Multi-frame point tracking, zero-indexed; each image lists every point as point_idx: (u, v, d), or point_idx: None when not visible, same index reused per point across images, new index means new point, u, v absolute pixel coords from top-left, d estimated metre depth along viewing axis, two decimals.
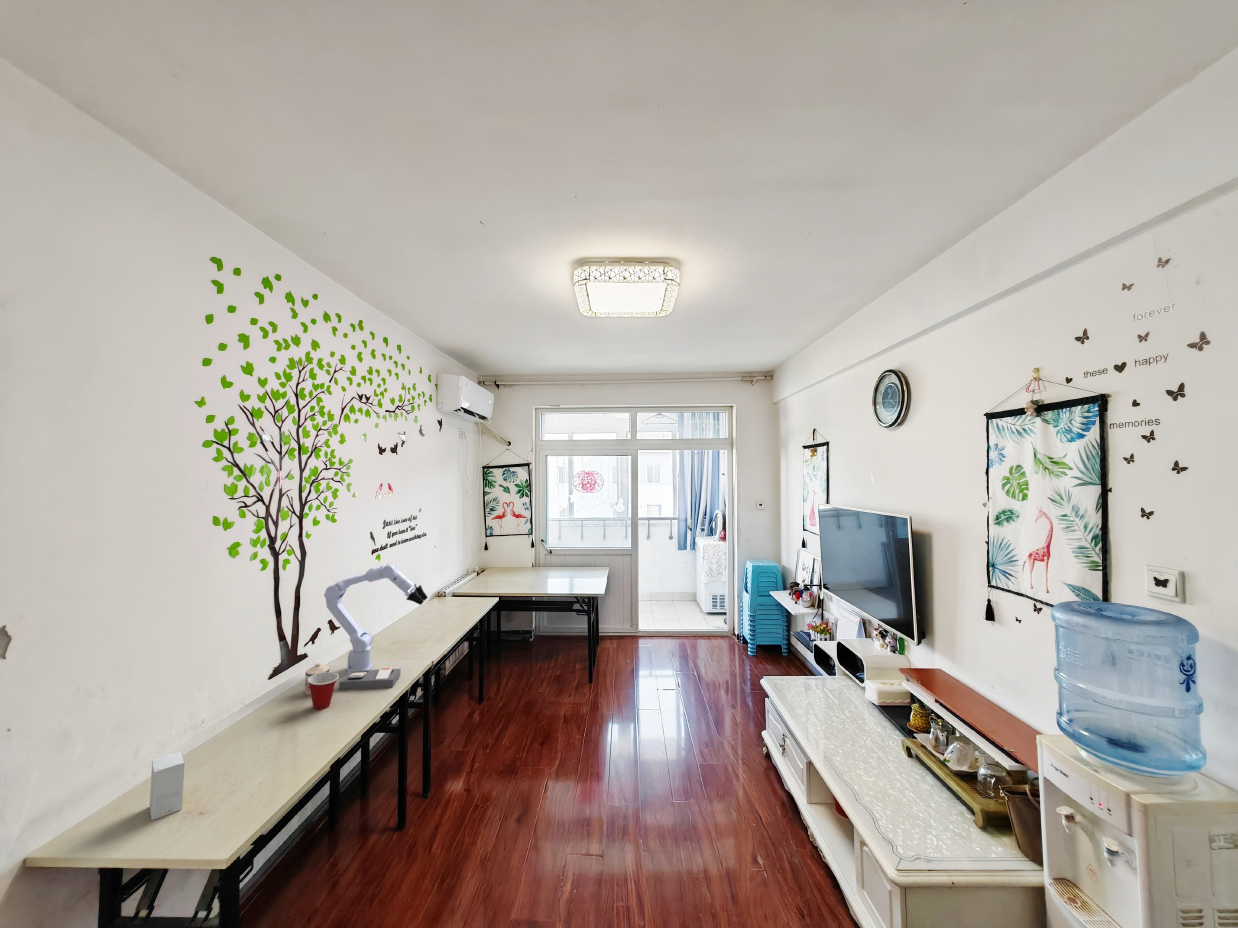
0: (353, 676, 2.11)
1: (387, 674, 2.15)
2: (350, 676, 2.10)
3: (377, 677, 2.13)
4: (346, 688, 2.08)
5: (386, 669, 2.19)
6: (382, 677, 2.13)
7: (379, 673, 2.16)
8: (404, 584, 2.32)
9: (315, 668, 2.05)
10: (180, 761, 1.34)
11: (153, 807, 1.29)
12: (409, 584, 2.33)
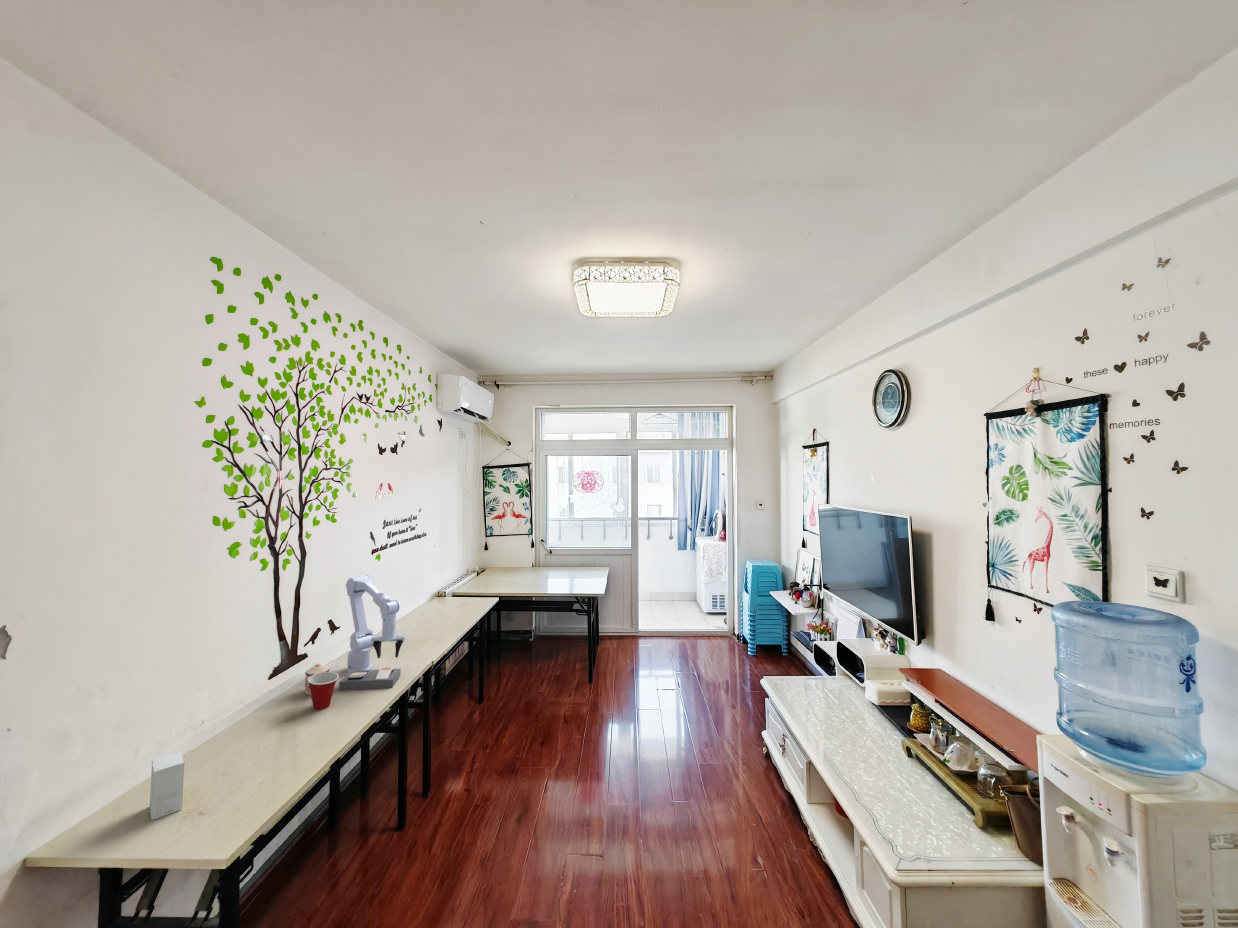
0: (353, 676, 2.11)
1: (387, 674, 2.15)
2: (350, 676, 2.10)
3: (377, 677, 2.13)
4: (346, 688, 2.08)
5: (386, 669, 2.19)
6: (382, 677, 2.13)
7: (379, 673, 2.16)
8: (382, 630, 2.21)
9: (315, 668, 2.05)
10: (180, 761, 1.34)
11: (153, 807, 1.29)
12: (382, 634, 2.19)
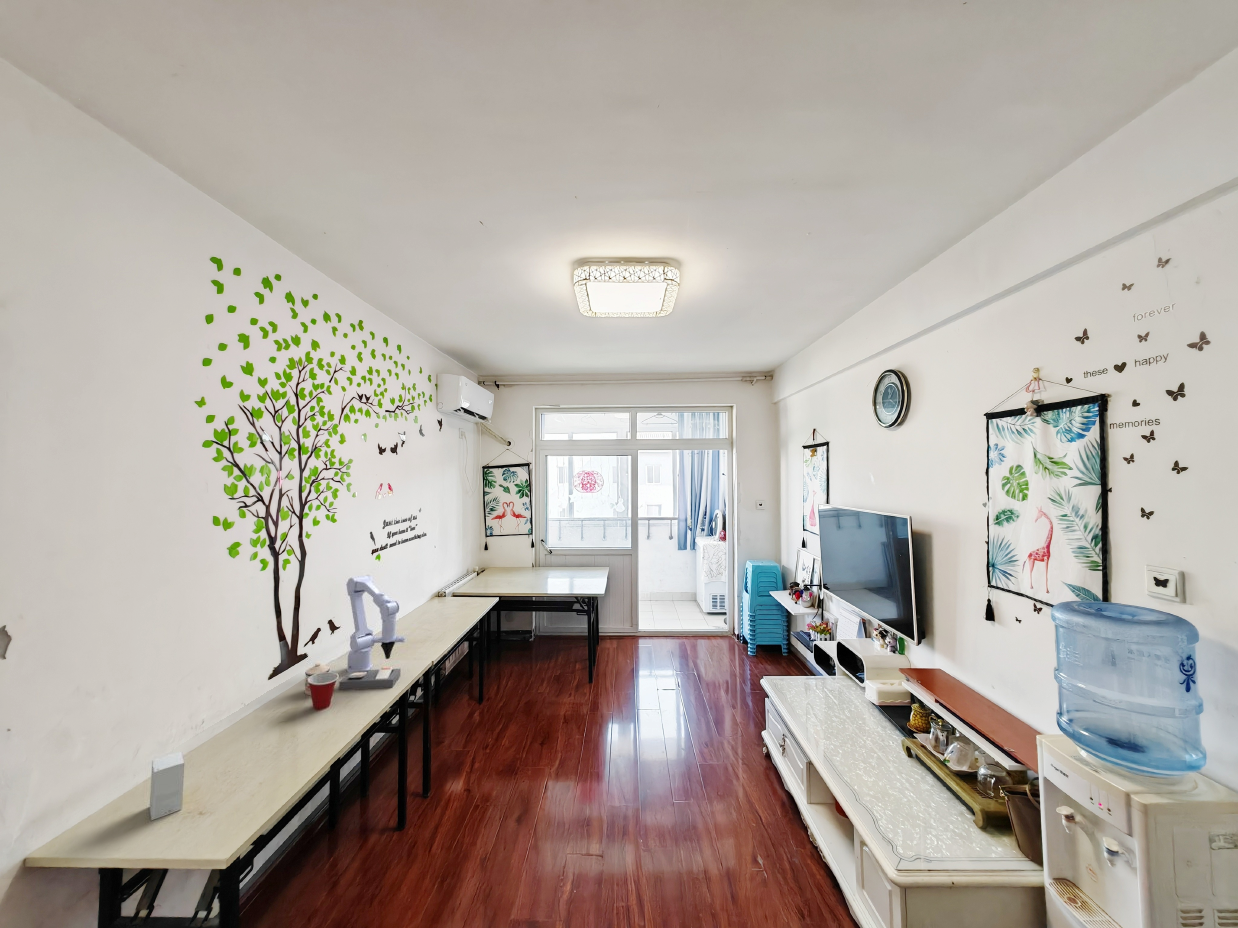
0: (353, 676, 2.11)
1: (387, 674, 2.15)
2: (350, 676, 2.10)
3: (377, 677, 2.13)
4: (346, 688, 2.08)
5: (386, 669, 2.19)
6: (382, 677, 2.13)
7: (379, 673, 2.16)
8: (382, 631, 2.20)
9: (315, 668, 2.05)
10: (180, 761, 1.34)
11: (153, 807, 1.29)
12: (382, 635, 2.19)
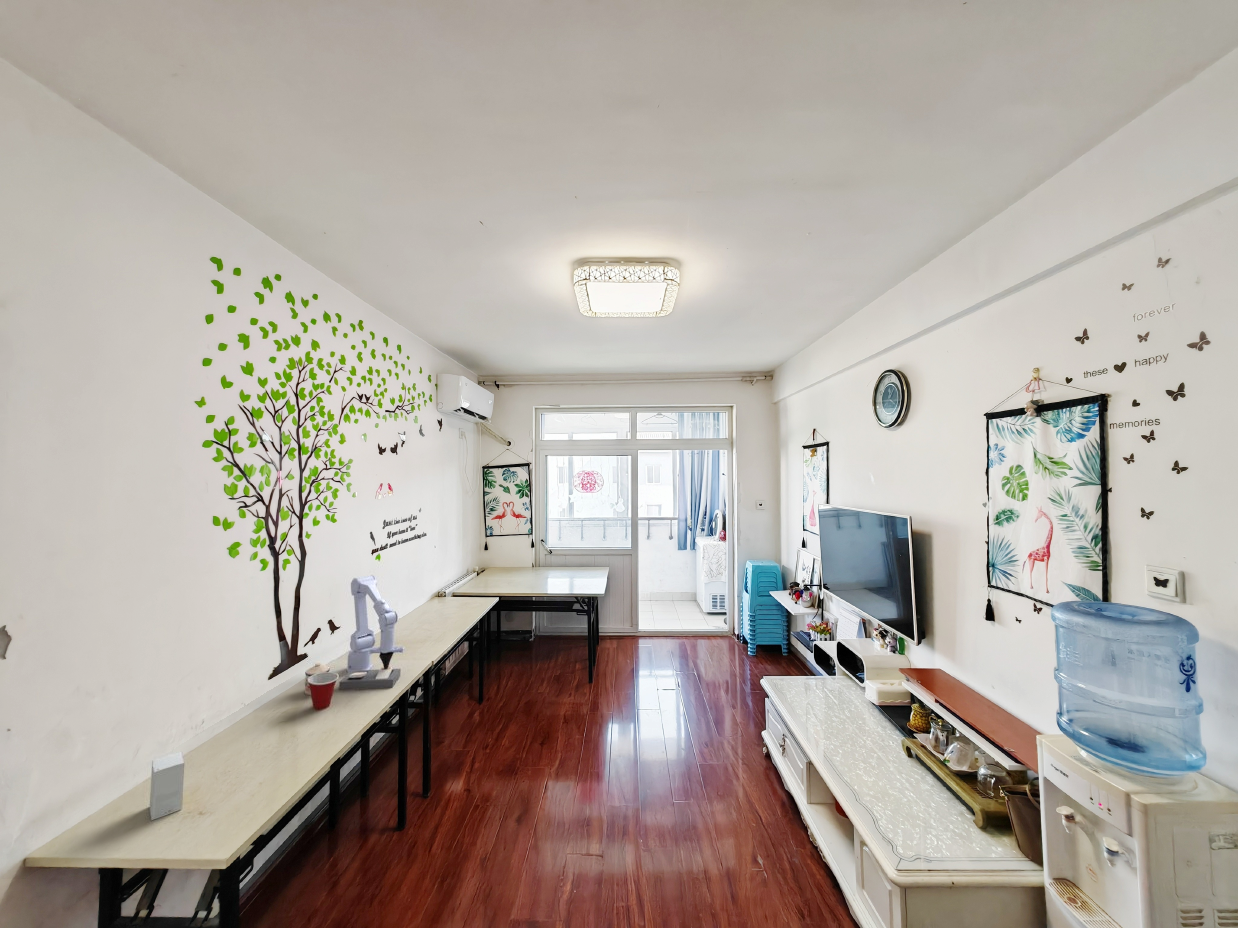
0: (353, 676, 2.11)
1: (387, 674, 2.15)
2: (350, 676, 2.10)
3: (377, 677, 2.13)
4: (346, 688, 2.08)
5: (386, 669, 2.19)
6: (382, 677, 2.13)
7: (379, 673, 2.16)
8: (380, 641, 2.18)
9: (315, 668, 2.05)
10: (180, 761, 1.34)
11: (153, 807, 1.29)
12: (381, 646, 2.17)
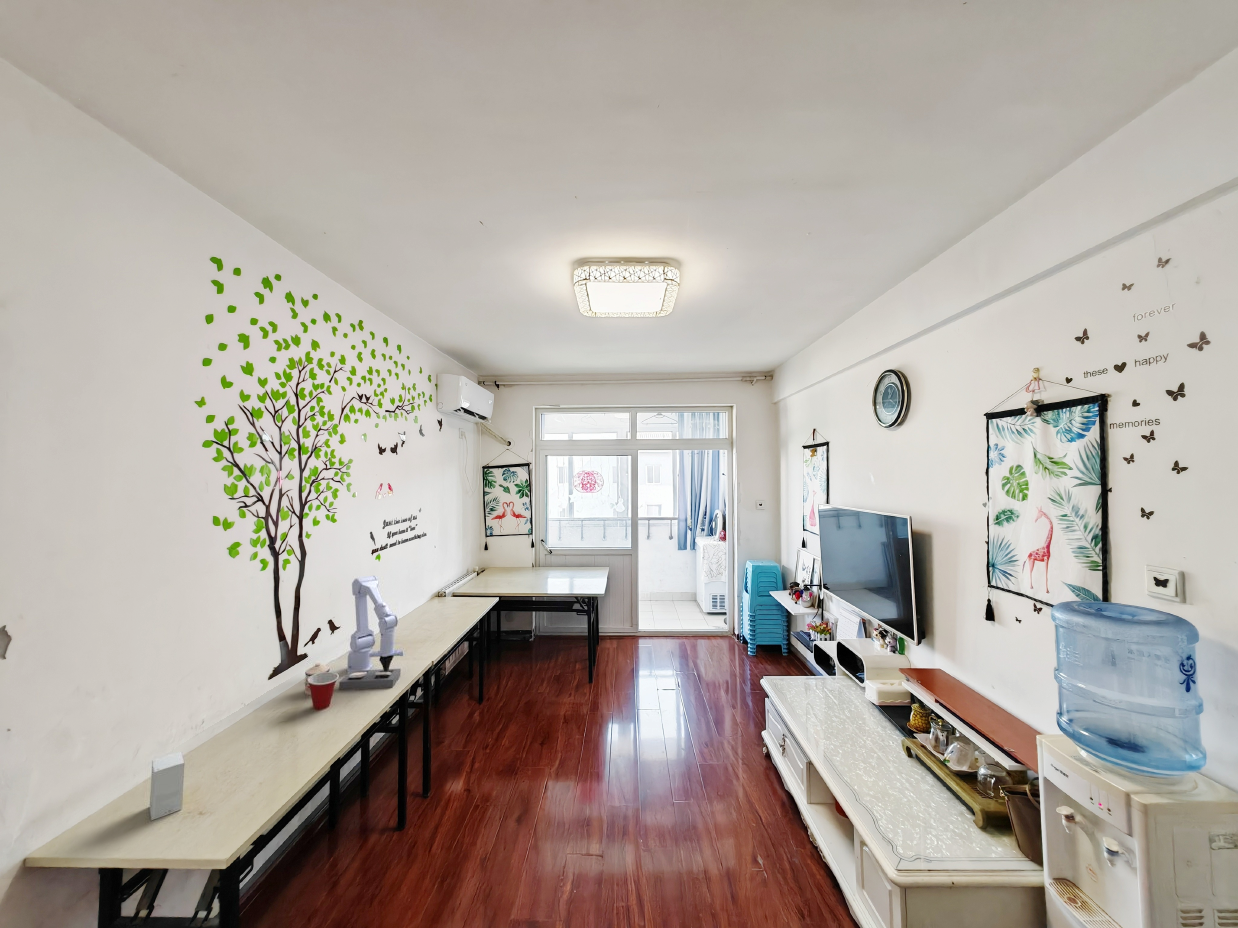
0: (353, 676, 2.11)
1: (387, 672, 2.16)
2: (350, 676, 2.10)
3: (378, 672, 2.14)
4: (346, 688, 2.08)
5: None
6: (383, 672, 2.14)
7: None
8: (380, 645, 2.19)
9: (315, 668, 2.05)
10: (180, 761, 1.34)
11: (153, 807, 1.29)
12: (381, 649, 2.17)
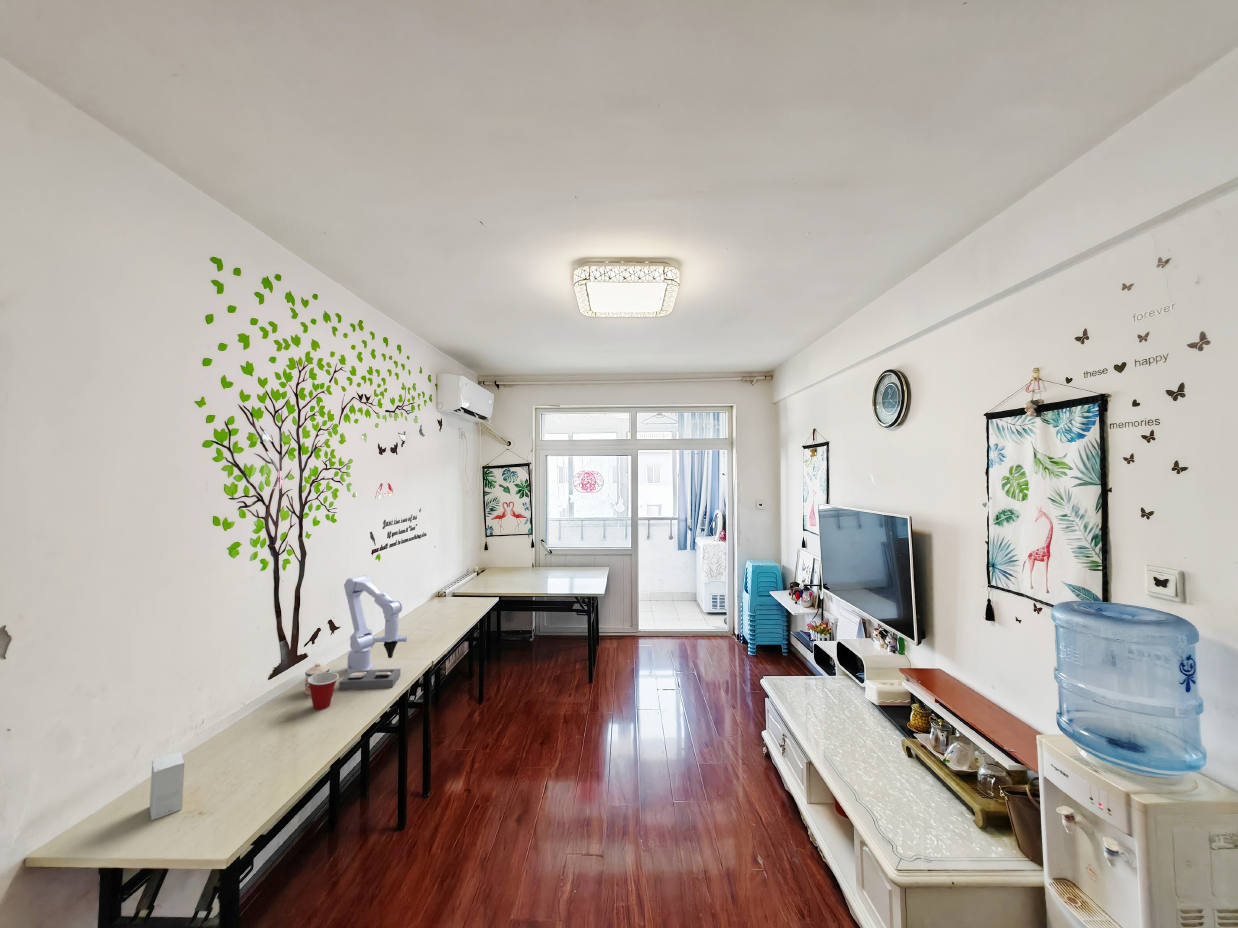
0: (353, 676, 2.11)
1: (387, 672, 2.16)
2: (350, 676, 2.10)
3: (378, 672, 2.14)
4: (346, 688, 2.08)
5: None
6: (383, 672, 2.14)
7: None
8: None
9: (315, 668, 2.05)
10: (180, 761, 1.34)
11: (153, 807, 1.29)
12: (385, 635, 2.22)
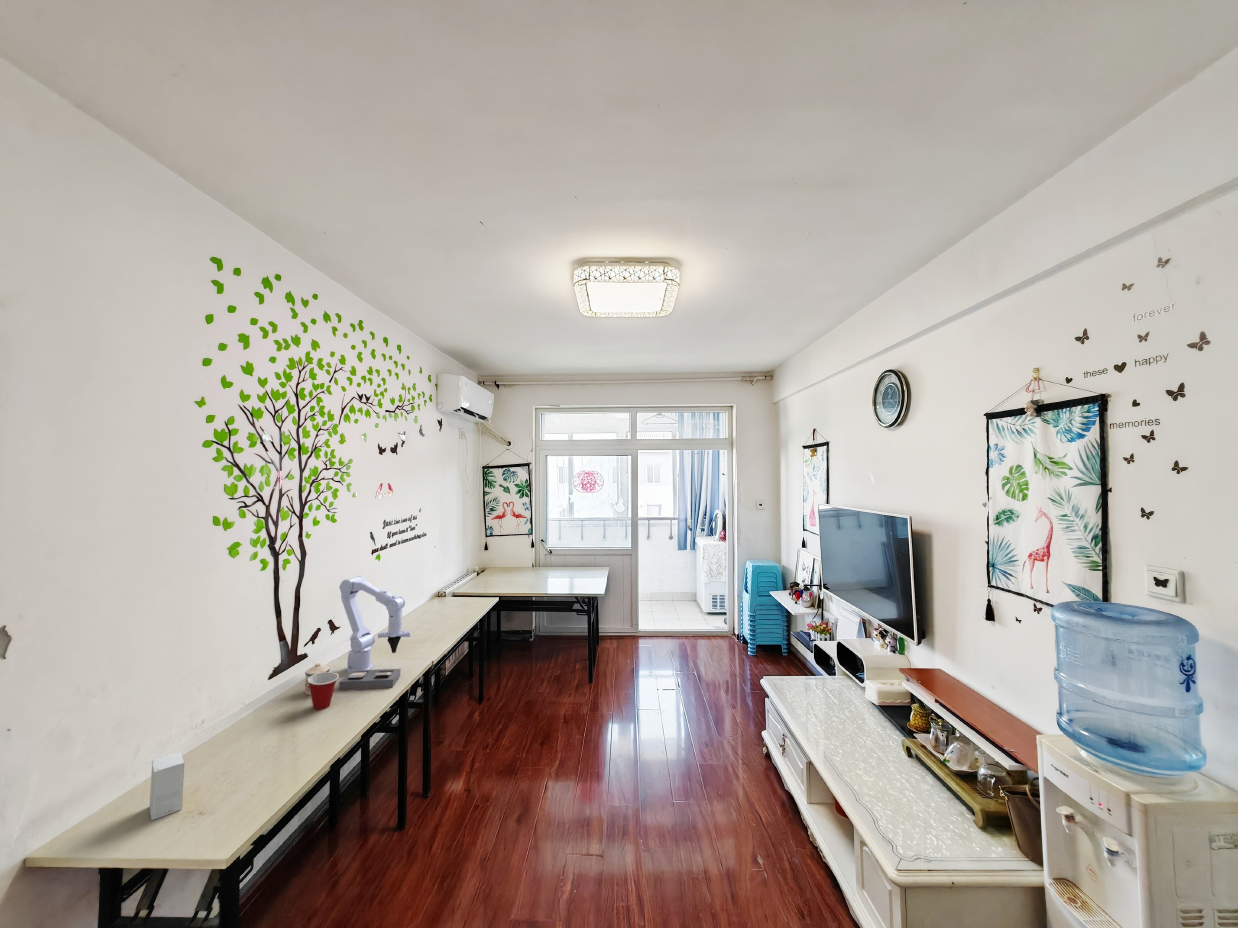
0: (353, 676, 2.11)
1: (387, 672, 2.16)
2: (350, 676, 2.10)
3: None
4: (346, 688, 2.08)
5: None
6: (382, 672, 2.14)
7: None
8: (388, 626, 2.27)
9: (315, 668, 2.05)
10: (180, 761, 1.34)
11: (153, 807, 1.29)
12: (389, 630, 2.25)
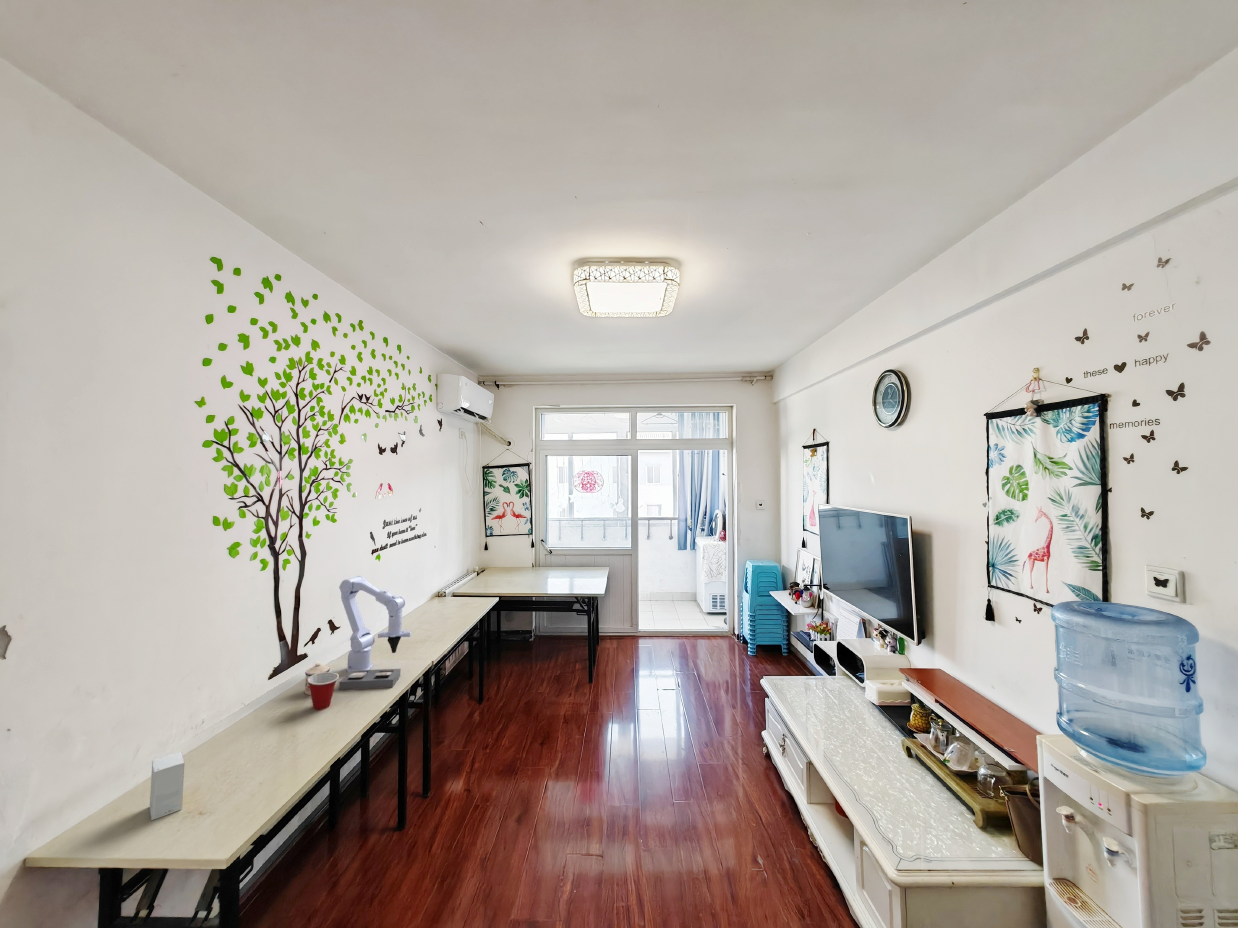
0: (353, 676, 2.11)
1: (387, 672, 2.16)
2: (350, 676, 2.10)
3: None
4: (346, 688, 2.08)
5: None
6: (382, 672, 2.14)
7: None
8: (388, 626, 2.27)
9: (315, 668, 2.05)
10: (180, 761, 1.34)
11: (153, 807, 1.29)
12: (389, 630, 2.25)
